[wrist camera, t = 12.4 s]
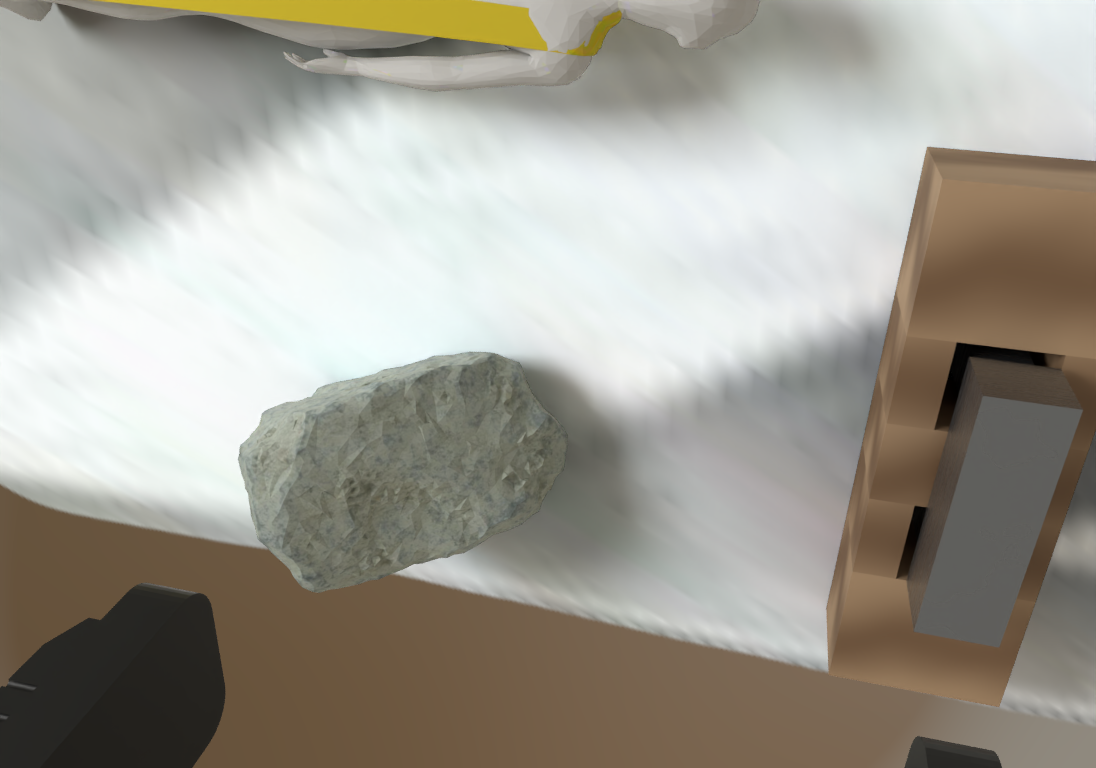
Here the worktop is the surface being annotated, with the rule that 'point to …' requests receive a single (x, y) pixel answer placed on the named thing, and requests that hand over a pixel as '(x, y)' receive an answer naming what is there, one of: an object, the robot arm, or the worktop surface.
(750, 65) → the worktop surface
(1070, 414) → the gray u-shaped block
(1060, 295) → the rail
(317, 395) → the decorative stone
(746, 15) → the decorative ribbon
